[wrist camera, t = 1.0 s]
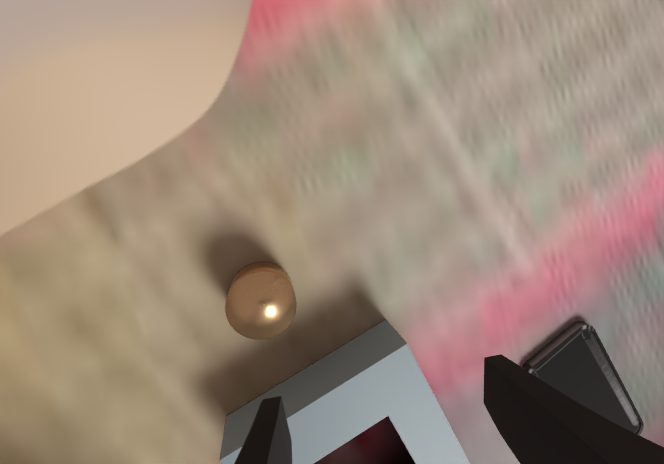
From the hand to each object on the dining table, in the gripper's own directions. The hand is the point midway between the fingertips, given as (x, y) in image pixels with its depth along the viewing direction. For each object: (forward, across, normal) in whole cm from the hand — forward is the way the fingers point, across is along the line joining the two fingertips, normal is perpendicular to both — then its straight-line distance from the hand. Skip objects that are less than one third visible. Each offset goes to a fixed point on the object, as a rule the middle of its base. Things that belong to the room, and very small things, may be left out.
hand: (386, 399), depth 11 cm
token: (+13, +6, +2) cm, 14 cm away
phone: (+14, -21, +19) cm, 32 cm away
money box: (+11, +1, +15) cm, 19 cm away
